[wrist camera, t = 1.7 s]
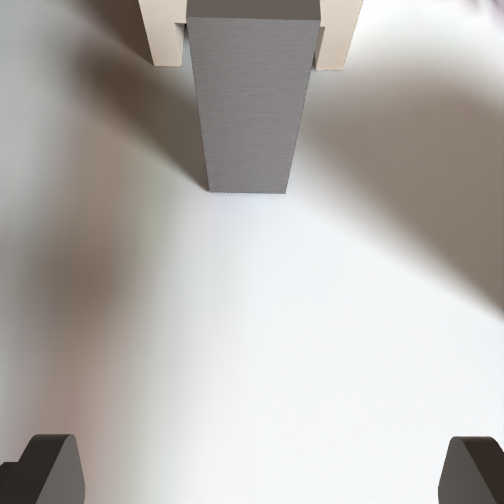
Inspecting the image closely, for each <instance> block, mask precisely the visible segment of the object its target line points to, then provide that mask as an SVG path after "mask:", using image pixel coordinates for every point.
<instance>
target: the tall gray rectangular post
mask: <svg viewBox="0 0 504 504" xmlns="http://www.w3.org/2000/svg"><path fill="white" fill-rule="evenodd" d="M186 23H187V30H188V37H189V45H190V52H191V59H192V67H193V74H194V82H195V89H196V96H197V104H198V111H199V118H200V126H201V133H202V140H203V148H204V155H205V163H206V170H207V177H208V185H209V192H222V193H277V194H285V192H286V188H287V183H288V178H289V173H290V168H291V163H292V159H293V154H294V149H295V144H296V139H297V134H298V130H299V125H300V120H301V115H302V110H303V106H304V101H305V96H306V91H307V86H308V81H309V77H310V72H311V67H312V62H313V57H314V52H315V48H316V43H317V38H318V33H319V28H320V23H321V10H320V0H187V7H186Z"/></svg>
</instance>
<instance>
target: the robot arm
mask: <svg viewBox="0 0 504 504" xmlns="http://www.w3.org/2000/svg"><path fill="white" fill-rule="evenodd" d="M84 499H85V483H84V477H83V472H82V467H81V462H80V457H79V452H78V447H77V442H76V438H75V436H74V435H72V434H37V435H35V436H33V437H32V439H31V440H30V441H29V443H28V445H27V447H26V448H25V450H24V452H23V454H22V456H21V457H20V459H19V461H18V462H4V463H3V464H2V465H1V466H0V504H84ZM438 499H439V504H504V452H503V450H502V449H501V447H500V446H499V444H498V443H497V442H496V440H495V439H493V438H492V437H459V436H455V437H453V438H452V439H451V440H450V443H449V447H448V451H447V455H446V458H445V462H444V466H443V470H442V474H441V478H440V482H439V486H438Z"/></svg>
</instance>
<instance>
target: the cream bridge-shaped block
mask: <svg viewBox="0 0 504 504" xmlns="http://www.w3.org/2000/svg"><path fill="white" fill-rule="evenodd" d="M138 1H139V5H140V9H141V13H142V17H143V21H144V25H145V29H146V33H147V38H148V42H149V46H150V50H151V54H152V58H153V62H154V66H177V67H182V54H183V40H184V27H185V23H186V7H187V0H138ZM362 4H363V0H320V10H321V23H320V28H319V33H318V38H317V43H316V48H315V64H316V70H343V67H344V64H345V60H346V57H347V54H348V50H349V47H350V44H351V40H352V37H353V34H354V30H355V27H356V24H357V20H358V17H359V14H360V10H361V7H362Z"/></svg>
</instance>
